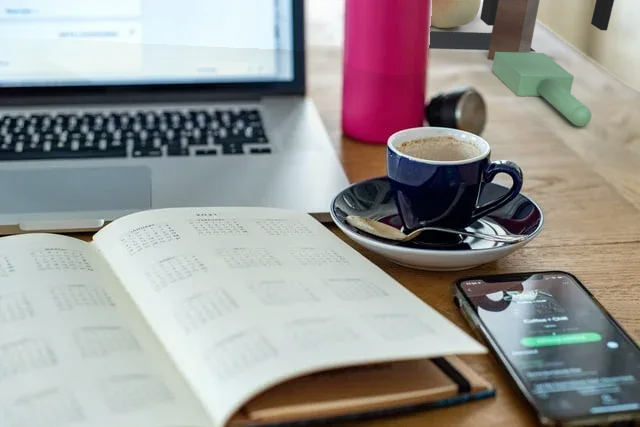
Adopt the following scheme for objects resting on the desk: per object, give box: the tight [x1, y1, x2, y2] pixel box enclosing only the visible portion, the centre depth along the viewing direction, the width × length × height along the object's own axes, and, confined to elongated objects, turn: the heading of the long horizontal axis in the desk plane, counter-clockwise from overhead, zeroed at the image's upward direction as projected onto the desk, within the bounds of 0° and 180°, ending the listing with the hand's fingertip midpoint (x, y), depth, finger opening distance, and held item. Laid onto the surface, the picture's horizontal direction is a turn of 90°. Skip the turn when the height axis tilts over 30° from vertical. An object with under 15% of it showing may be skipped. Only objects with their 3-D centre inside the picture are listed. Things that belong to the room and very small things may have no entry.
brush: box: [491, 52, 592, 127], centre depth 100 cm, size 20×6×4 cm, turn 9°
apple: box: [430, 0, 482, 29], centre depth 132 cm, size 9×9×8 cm
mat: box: [428, 30, 537, 53], centre depth 125 cm, size 16×9×1 cm, turn 99°
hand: (543, 25), depth 101 cm, fingers open, 13 cm apart
